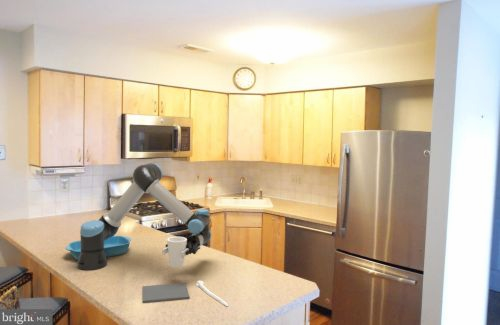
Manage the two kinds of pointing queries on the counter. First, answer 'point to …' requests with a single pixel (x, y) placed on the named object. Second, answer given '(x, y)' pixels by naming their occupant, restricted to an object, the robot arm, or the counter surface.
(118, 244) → the casserole dish
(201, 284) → the white long knobbed rod
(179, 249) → the foam cup
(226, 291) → the counter surface
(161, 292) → the mat
